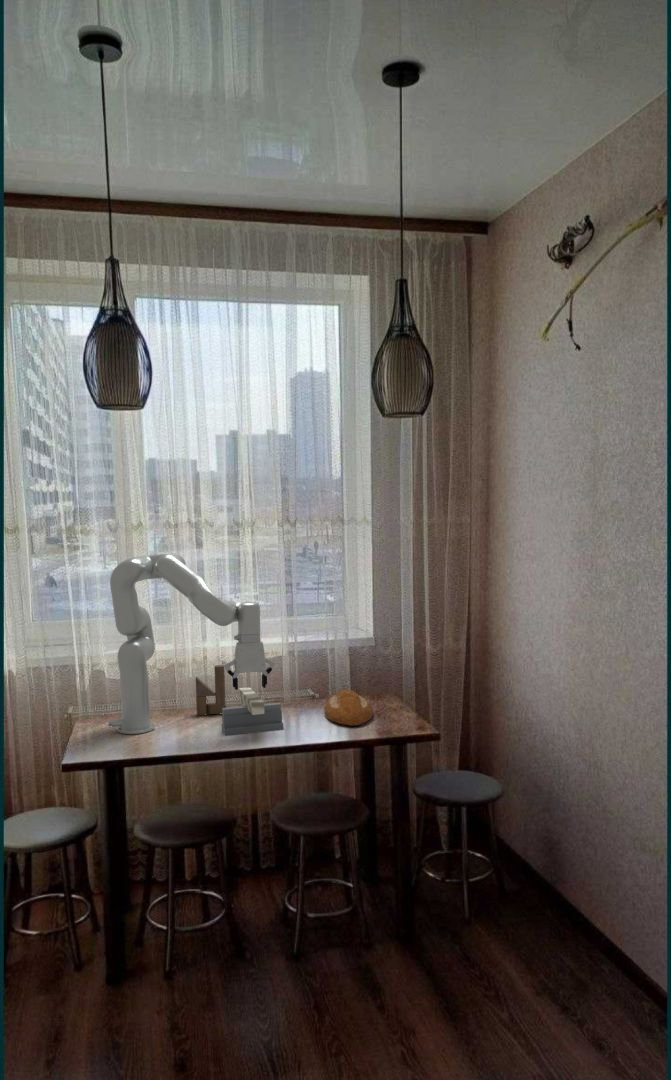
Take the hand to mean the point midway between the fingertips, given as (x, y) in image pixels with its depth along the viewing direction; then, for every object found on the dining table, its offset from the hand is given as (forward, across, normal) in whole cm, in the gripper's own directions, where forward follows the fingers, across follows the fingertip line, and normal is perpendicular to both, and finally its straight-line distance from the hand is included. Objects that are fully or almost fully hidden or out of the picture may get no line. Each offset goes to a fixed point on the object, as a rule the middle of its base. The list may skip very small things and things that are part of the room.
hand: (250, 688), depth 291 cm
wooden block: (+15, -9, +27) cm, 32 cm away
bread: (+14, +37, +5) cm, 40 cm away
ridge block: (+14, +1, 0) cm, 14 cm away
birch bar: (+6, 0, 0) cm, 6 cm away
